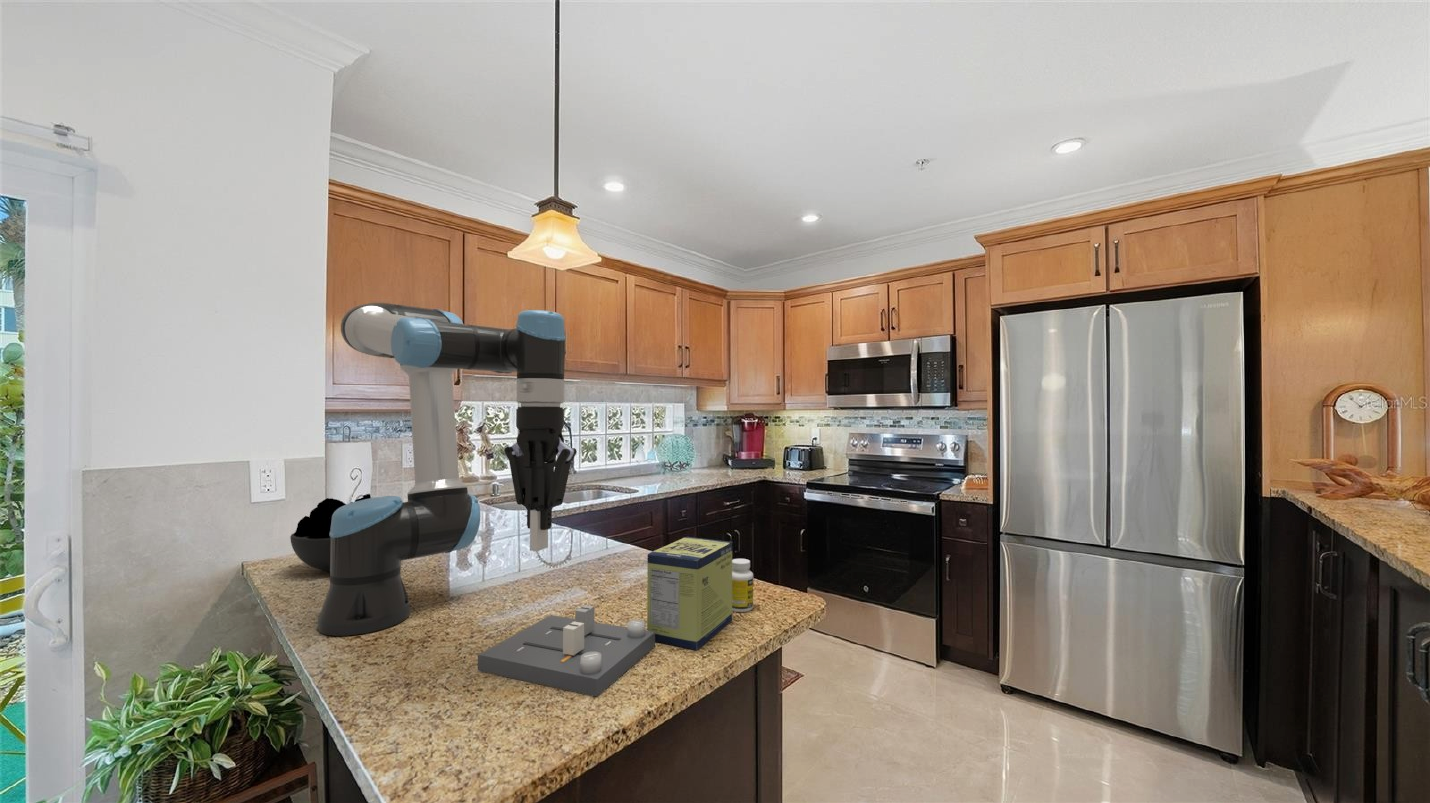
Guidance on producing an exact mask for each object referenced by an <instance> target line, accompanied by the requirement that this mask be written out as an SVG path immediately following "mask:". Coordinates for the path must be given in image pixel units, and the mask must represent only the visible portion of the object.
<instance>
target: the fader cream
mask: <svg viewBox="0 0 1430 803" xmlns="http://www.w3.org/2000/svg"><path fill="white" fill-rule="evenodd" d="M582 649H584V623H580V622H572V623H570V624H569V625H567V626H565V627H564V628H563V654H568V655H573V656H574V655H575V654H577V653H578V652H579V651H581V650H582Z"/></svg>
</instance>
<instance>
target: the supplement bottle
mask: <svg viewBox="0 0 1430 803" xmlns="http://www.w3.org/2000/svg"><path fill="white" fill-rule="evenodd" d="M750 568H751V560H749V559H746V558H732V612H736V613H746V612H750V611H752V610H753V608H754V573H753V572H752V571H751V570H750Z"/></svg>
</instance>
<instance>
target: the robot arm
mask: <svg viewBox="0 0 1430 803" xmlns="http://www.w3.org/2000/svg"><path fill="white" fill-rule="evenodd" d="M340 332H341V333H340V334H341V336H342V338H343V340H344V342H345V343H346V344H347V346H349V348H351V349H353V350H355V351H357V352H360V353H361V354H366V355H369V356H373V357H378V358H388V359H394V360H395V362H396V363H397V364H399V365H400V366H399V367H400V370H401V371H402V372H403V373H405V374H406V375H407V376H408V383H409V384H408V385H409V402H410V405H409V406H410V419H411V420H410V422H411V437H412V451H413V471H414V485H413V487H411V489H410V490H409V491H408V492H407V493H406V494H407V501H404V502H403V500H402V498H401V497H400V496H398V495H387V496H380V497H377V496H376V497H371V498H370V499H365V500H360V501H356V502H355V501H352V502H353V503H350V502H349V503H347V504H346V503H345V504H346V505H344V506H342V507H340V508H338V509H337V510H336V511H335V512H334V513H333V515H332V521H331V529H330V533H329V536H330V537H331V546H330V571H329V572H330V573H329V588H328V590H327V592H326V595H325V599H324V601H323V604H322V606H321V610H320V613H319V614H318V618H317V631H318V632H319V633H321V634H323V635H327V636H333V637H334V636H335V637H336V636H338V637H340V636H346V637H347V636H355V635H362V634H368V633H373V632H377V631H381V630H384V629H388V628H391V627H393V626H396V625H398V624H400V623H401V622H404V621H405V620H406V619H408V618H409V617H410V616H411V601H410V599H409V596H408V593H407V590H406V587H405V584H404V582H403V579H402V574H401V568H402V567H401V566H402V565H401V564H402V561H407V560H413V559H417V558H423V557H428V556H434V555H440V554H444V553H445V554H447V553H448V554H450V553H452V552H455V551H460V550H463V549H465V548H468V547H469V546H470V545H472V543H473V542H474V540H475V539H476V536H477V535H478V533H479V529H480V525H481V507H480V504H479V500H478V498H477V497H476V496H475V495H473V494H471V493H469V492H468V485H466V484H465V483H464V482H463V481H461V479H460V474H459V473H460V471H459V457H458V456H459V455H458V439H457V427H456V416H455V414H456V413H455V400H454V398H455V397H454V385H453V374H454V373H455V372H456V371H457V370H469V371H470V370H471V371H484V372H485V371H486V372H492V373H496V374H506V375H507V374H511V373H516V403H518V404H520V406H518V407H517V408H515V409H516V410H515V411H516V412H515V414H516V415H515V417H516V418H515V419H516V420H515V427H516V429H518V435H517V437H516V442H515V443H514V444H512V445H511V446H506V447H504V450H503V451H504V454H505V456H506V458H507V459H508V463H509V468H510V472H511V473H510V474H511V479H512V485H513V491H514V496H515V501H516V504H517V505H519V506H520V505H522V506H523V507H525V509H526V513H527V514H526V527H527V529H529V551H531V552H539V551H542V550H546V549H548V548H549V530H550V529H552V525H553V523H552V522H553V521H552V518H553V517H552V510H553V508H555V507H558V506H561V505H563V503H564V497H565V494H566V493H565V492H566V488H567V484H568V478H569V474H570V469H571V466H572V462H573V460H574V458H575V457H576V455H577V449H576V448H575V447H569V446H568V444H566V443H565V438H564V436H563V428H564V427H565V408H564V407H563V406H562V407H561V405H562V404H564V403H565V364H566V363H565V360H566V359H565V358H566V357H565V356H566V340H567V338H566V336H567V335H565V319H564V317H563V316H562V315H561V313H558V312H555V311H552V310H543V309H542V310H541V309H531V310H530V309H529V310H523V311H520V312H519V314H518V315H517V321H516V324H515V328H500V327H494V326H493V327H490V326H483V325H473V324H466V323H465V324H464V323H463V321H462V319H461V318H460V317H459V316H458V315H457V314H456V313H453V312H451V311H450V312H449V311H445V310H441V309H439V308H424V307H417V306H411V305H402V304H394V303H390V302H370V303H363V304H359V305H357V306H355V307H352V308H351V309H349V310H348V311H347V312H346V313H345V315H344V316H343V318H342V319H341V323H340Z"/></svg>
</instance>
